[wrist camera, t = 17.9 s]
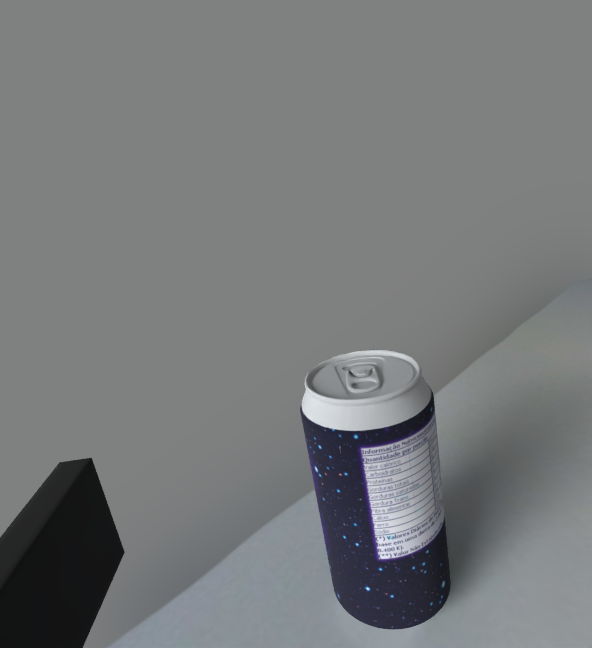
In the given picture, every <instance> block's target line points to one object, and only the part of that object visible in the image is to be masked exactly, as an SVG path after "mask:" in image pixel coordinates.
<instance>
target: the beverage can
mask: <svg viewBox="0 0 592 648" xmlns="http://www.w3.org/2000/svg"><path fill="white" fill-rule="evenodd" d="M305 388H306V392H305V394H304V397H303V400H302V404H301V408H300V409H301V410H300V411H301V417H302V422H303V427H304V432H305V438H306V443H307V449H308V453H309V459H310V465H311V469H312V475H313V481H314V486H315V491H316V496H317V502H318V507H319V512H320V518H321V523H322V528H323V534H324V539H325V544H326V549H327V555H328V560H329V565H330V571H331V576H332V581H333V586H334V591H335V594H336V597H337V599H338V601H339V602H340V604H341V605H342V606H343V608H344V609H345V610H346V611H347V612H348V613H349V614H350V615H352V616H353V617H354V618H356V619H357V620H359V621H361V622H363V623H365V624H368V625H371V626H374V627H378V628H383V629H403V628H409V627H412V626H416V625H418V624H421V623H423V622H425V621H427V620H428V619H430V618H431V617H433V616H434V615H435V614H436V613H437V612H438V611H439V610H440V609H441V608H442V607H443V605H444V604H445V602H446V600H447V598H448V595H449V591H450V585H451V581H450V569H449V558H448V547H447V536H446V526H445V515H444V504H443V493H442V482H441V471H440V460H439V449H438V439H437V428H436V417H435V406H434V396H433V392H432V390H431V389H430V387H429V385H428V384H427V383H426V381H425V380H424V378H423V377H422V376H421V367H420V365H419V363H418V362H417V361H416V360H415V359H413V358H412V357H410V356H408V355H406V354H403V353H399V352H394V351H387V350H364V351H356V352H350V353H345V354H342V355H338V356H335V357H332V358H329V359H327V360H325V361H323V362H321V363H319V364H317V365H316V366H315V367H313V368H312V369H311V370H310V371H309V372H308V374H307V375H306V378H305Z"/></svg>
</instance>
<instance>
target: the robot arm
mask: <svg viewBox="0 0 592 648" xmlns="http://www.w3.org/2000/svg"><path fill="white" fill-rule="evenodd" d="M123 555H124V549H123V547H122V544H121V541H120V538H119V535H118V532H117V529H116V526H115V524H114V521H113V518H112V515H111V512H110V509H109V507H108V504H107V501H106V498H105V495H104V492H103V489H102V486H101V484H100V481H99V478H98V475H97V472H96V469H95V467H94V464H93V461H92V458H87V459H81V460H74V461H68V462H60V463H59V464H58V465H57V467H56V468H55V469H54V470H53V472H52V473H51V474H50V475H49V477H48V478H47V479H46V480H45V482H44V483H43V484H42V486H41V487H40V488H39V489H38V490H37V492H36V493H35V494H34V496H33V497H32V498H31V499H30V501H29V502H28V503H27V504H26V506H25V507H24V508H23V509H22V511H21V512H20V513H19V515H18V516H17V517H16V518H15V520H14V521H13V522H12V523H11V525H10V526H9V527H8V528H7V530H6V531H5V532H4V534H3V535H2V536H1V537H0V648H83V646H84V643H85V641H86V639H87V636H88V634H89V632H90V629H91V627H92V625H93V623H94V621H95V618H96V616H97V614H98V611H99V609H100V607H101V605H102V602H103V600H104V598H105V595H106V593H107V591H108V589H109V586H110V584H111V582H112V580H113V577H114V575H115V573H116V571H117V568H118V566H119V563H120V561H121V559H122V557H123Z"/></svg>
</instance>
